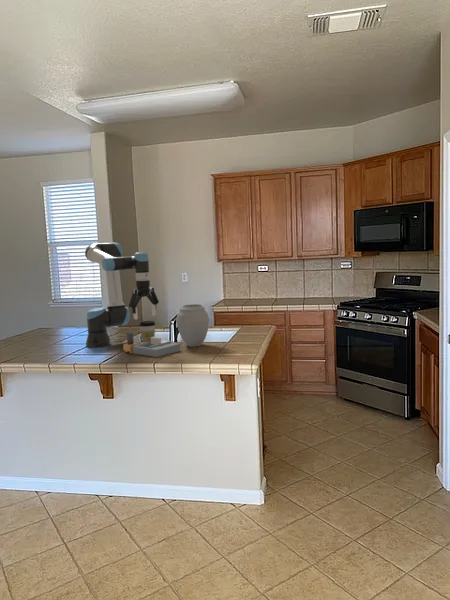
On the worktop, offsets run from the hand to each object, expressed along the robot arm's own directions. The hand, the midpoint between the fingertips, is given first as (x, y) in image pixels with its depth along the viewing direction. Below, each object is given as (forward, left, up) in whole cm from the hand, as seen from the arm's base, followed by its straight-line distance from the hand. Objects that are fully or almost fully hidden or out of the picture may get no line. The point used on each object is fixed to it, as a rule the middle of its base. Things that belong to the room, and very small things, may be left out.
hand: (145, 317), depth 262 cm
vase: (+12, +26, -20) cm, 35 cm away
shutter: (+2, +9, -16) cm, 18 cm away
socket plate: (+4, +3, -20) cm, 21 cm away
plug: (-10, -4, -20) cm, 23 cm away
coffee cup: (-13, +12, -20) cm, 27 cm away
